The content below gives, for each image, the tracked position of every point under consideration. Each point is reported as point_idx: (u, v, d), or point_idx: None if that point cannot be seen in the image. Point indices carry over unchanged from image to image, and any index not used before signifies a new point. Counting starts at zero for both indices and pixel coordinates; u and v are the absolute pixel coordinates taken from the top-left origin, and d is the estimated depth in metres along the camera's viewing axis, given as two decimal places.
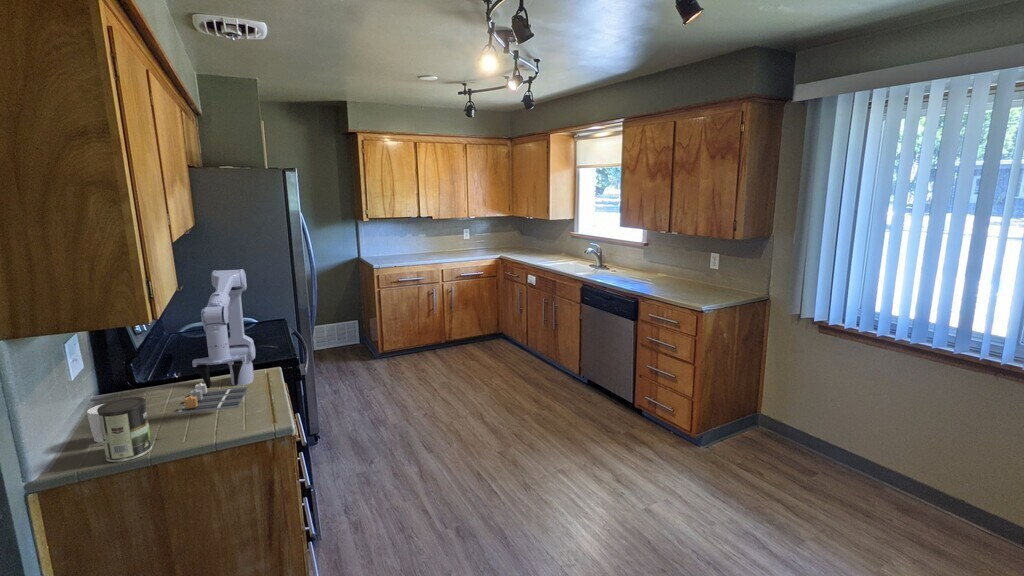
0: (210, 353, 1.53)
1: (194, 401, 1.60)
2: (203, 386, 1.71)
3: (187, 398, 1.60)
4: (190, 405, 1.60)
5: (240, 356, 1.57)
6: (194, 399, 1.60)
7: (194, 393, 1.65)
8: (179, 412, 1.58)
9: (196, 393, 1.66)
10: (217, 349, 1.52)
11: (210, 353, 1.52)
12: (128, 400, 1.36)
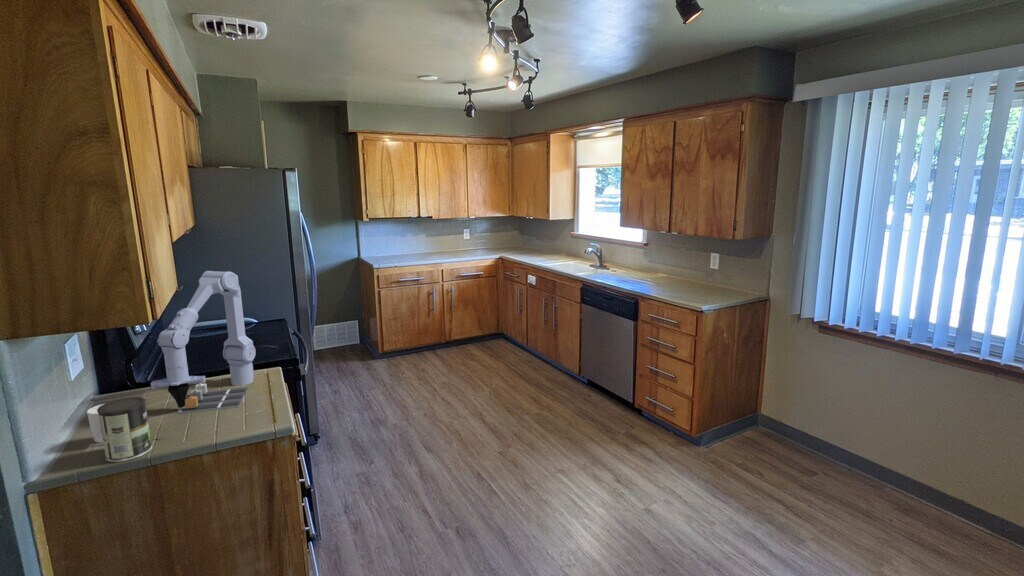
0: (168, 375, 1.56)
1: (194, 401, 1.60)
2: (203, 386, 1.71)
3: (187, 398, 1.60)
4: (190, 405, 1.60)
5: (199, 377, 1.60)
6: (194, 399, 1.60)
7: (194, 393, 1.65)
8: (179, 412, 1.58)
9: (196, 393, 1.66)
10: (174, 371, 1.56)
11: (168, 375, 1.56)
12: (128, 400, 1.36)
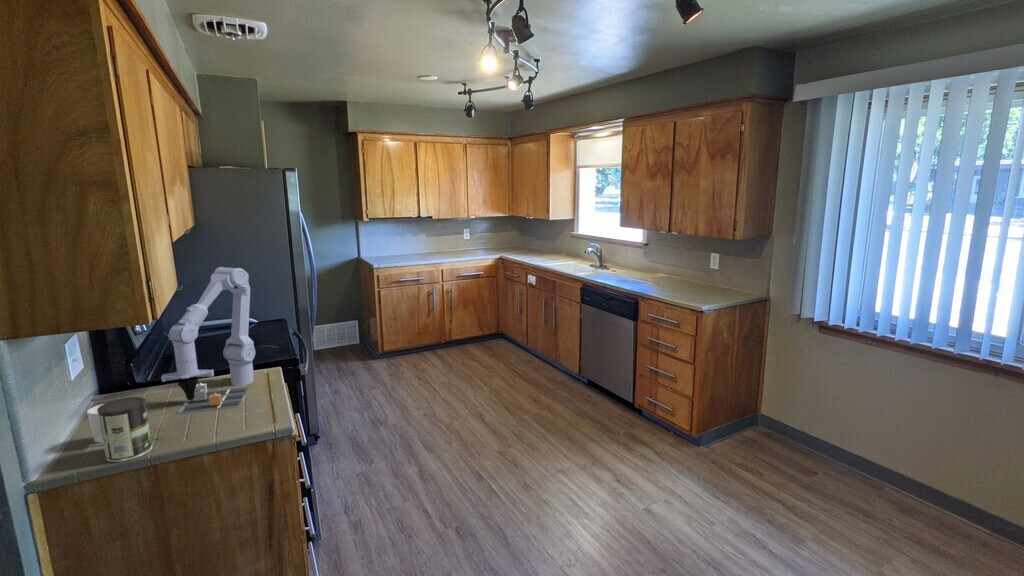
0: (178, 368, 1.62)
1: (218, 398, 1.63)
2: (203, 386, 1.71)
3: (211, 395, 1.62)
4: (214, 402, 1.62)
5: (207, 371, 1.66)
6: (218, 396, 1.62)
7: (198, 393, 1.66)
8: (179, 412, 1.58)
9: (200, 393, 1.66)
10: (184, 365, 1.62)
11: (178, 368, 1.62)
12: (128, 400, 1.36)
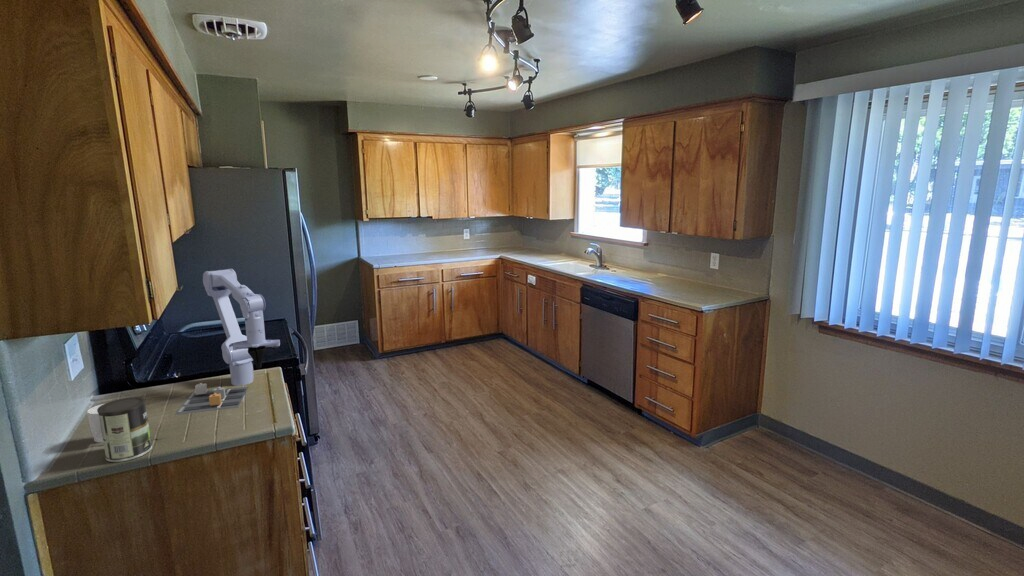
0: (248, 338, 1.70)
1: (218, 398, 1.63)
2: (203, 386, 1.71)
3: (211, 395, 1.62)
4: (214, 402, 1.62)
5: (274, 341, 1.75)
6: (218, 396, 1.62)
7: (217, 390, 1.68)
8: (179, 412, 1.58)
9: (219, 390, 1.68)
10: (254, 334, 1.70)
11: (249, 337, 1.70)
12: (128, 400, 1.36)
